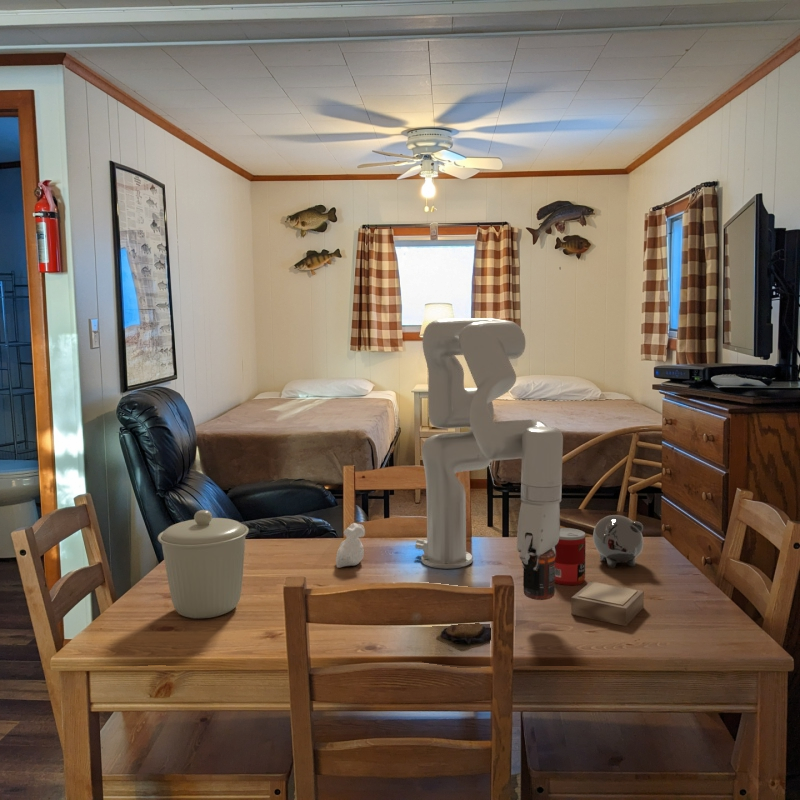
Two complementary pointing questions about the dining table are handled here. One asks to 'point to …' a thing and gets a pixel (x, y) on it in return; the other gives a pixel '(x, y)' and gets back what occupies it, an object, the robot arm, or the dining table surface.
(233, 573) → the canister
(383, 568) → the dining table surface
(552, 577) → the supplement bottle
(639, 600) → the base
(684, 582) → the dining table surface
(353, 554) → the bust
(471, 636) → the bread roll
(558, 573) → the canned food
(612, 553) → the piggy bank
